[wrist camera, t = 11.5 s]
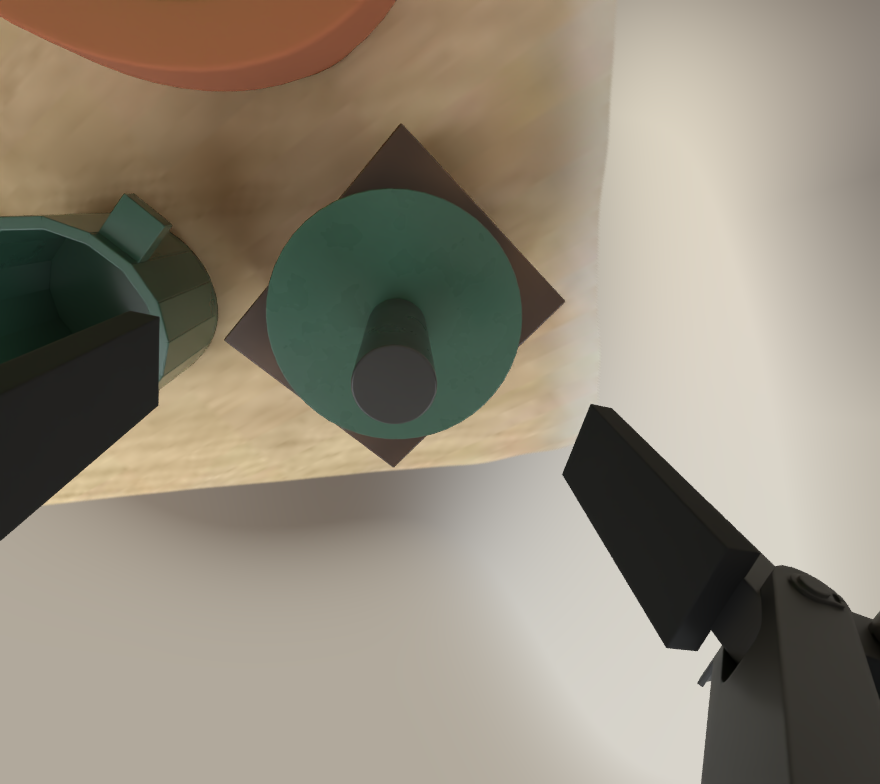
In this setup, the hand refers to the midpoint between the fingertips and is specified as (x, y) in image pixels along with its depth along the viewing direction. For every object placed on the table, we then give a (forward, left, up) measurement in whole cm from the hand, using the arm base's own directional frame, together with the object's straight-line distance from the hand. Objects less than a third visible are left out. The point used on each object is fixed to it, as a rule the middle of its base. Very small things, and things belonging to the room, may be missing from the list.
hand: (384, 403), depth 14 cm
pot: (-13, -14, -22) cm, 29 cm away
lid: (0, 0, -11) cm, 10 cm away
